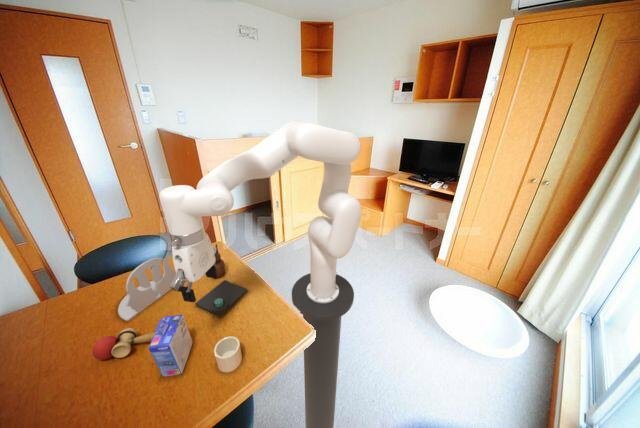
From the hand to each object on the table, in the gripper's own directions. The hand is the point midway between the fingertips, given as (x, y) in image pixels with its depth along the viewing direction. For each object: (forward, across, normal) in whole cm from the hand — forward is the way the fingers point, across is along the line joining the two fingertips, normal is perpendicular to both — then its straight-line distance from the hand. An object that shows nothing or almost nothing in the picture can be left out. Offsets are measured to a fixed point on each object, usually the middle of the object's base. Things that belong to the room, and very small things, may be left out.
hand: (201, 288), depth 66 cm
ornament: (+20, +12, +36) cm, 43 cm away
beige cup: (+20, -6, -9) cm, 23 cm away
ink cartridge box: (+20, -8, +6) cm, 23 cm away
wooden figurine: (+20, +28, +16) cm, 38 cm away
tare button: (+18, +10, +4) cm, 21 cm away
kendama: (+20, -7, +22) cm, 31 cm away
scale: (+20, +16, +6) cm, 26 cm away
